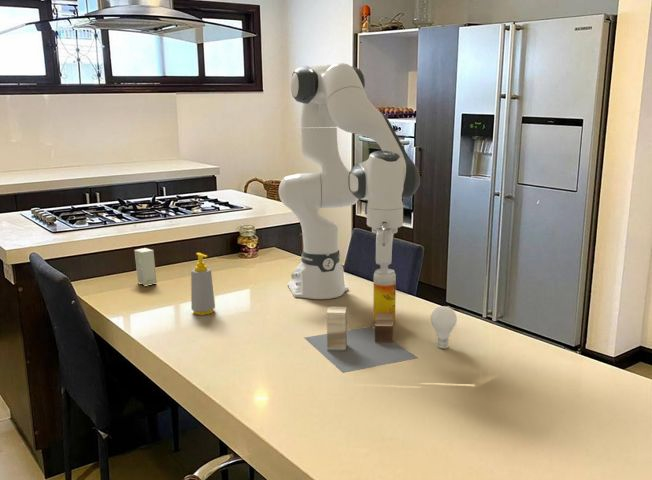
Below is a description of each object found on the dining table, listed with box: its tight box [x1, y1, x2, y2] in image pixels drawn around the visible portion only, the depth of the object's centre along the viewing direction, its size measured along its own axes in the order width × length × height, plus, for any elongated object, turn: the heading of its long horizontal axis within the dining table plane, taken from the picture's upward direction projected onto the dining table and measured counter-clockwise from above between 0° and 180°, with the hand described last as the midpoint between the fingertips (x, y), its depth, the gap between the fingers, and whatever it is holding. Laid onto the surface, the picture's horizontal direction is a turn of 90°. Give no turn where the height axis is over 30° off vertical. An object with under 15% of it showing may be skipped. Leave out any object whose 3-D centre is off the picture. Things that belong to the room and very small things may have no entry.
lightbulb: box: [430, 305, 458, 350], centre depth 156 cm, size 6×6×11 cm
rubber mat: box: [304, 325, 419, 374], centre depth 158 cm, size 24×20×1 cm
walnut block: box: [374, 313, 394, 343], centre depth 165 cm, size 4×4×10 cm
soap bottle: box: [190, 252, 216, 316], centre depth 185 cm, size 7×7×18 cm
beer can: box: [372, 268, 397, 323], centre depth 175 cm, size 6×6×15 cm
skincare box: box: [134, 247, 158, 285], centre depth 216 cm, size 6×4×12 cm
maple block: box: [326, 306, 348, 352], centre depth 157 cm, size 4×4×10 cm
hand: (384, 272), depth 158 cm, fingers closed
